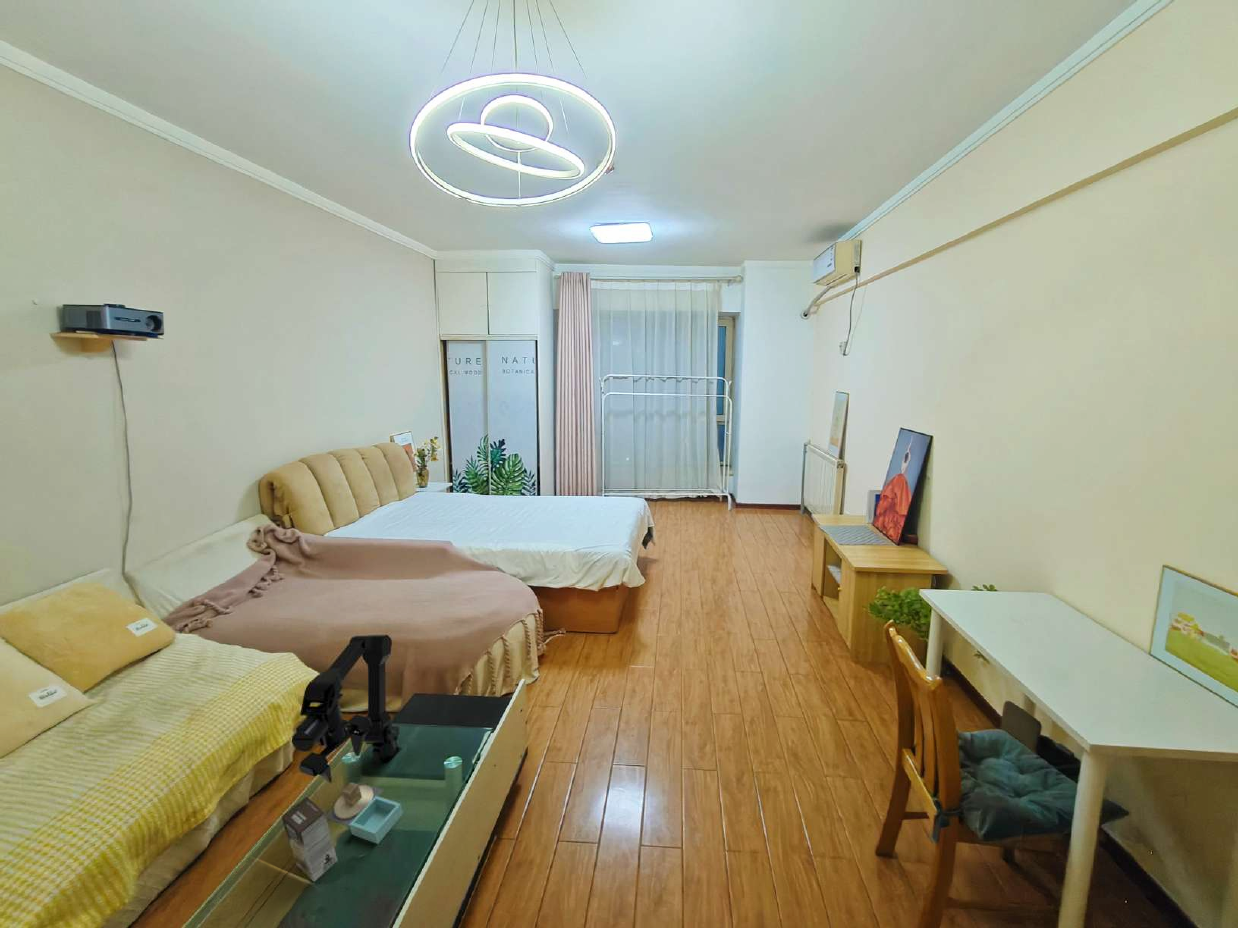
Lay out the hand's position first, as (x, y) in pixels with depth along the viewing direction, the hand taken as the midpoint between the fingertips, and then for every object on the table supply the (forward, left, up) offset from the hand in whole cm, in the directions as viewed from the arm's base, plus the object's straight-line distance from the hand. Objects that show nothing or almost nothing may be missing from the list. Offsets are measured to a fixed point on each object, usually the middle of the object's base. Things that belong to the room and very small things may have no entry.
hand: (343, 768), depth 143 cm
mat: (0, 0, -13) cm, 13 cm away
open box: (+3, +12, -13) cm, 18 cm away
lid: (0, 0, -12) cm, 12 cm away
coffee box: (+16, +5, -13) cm, 21 cm away
